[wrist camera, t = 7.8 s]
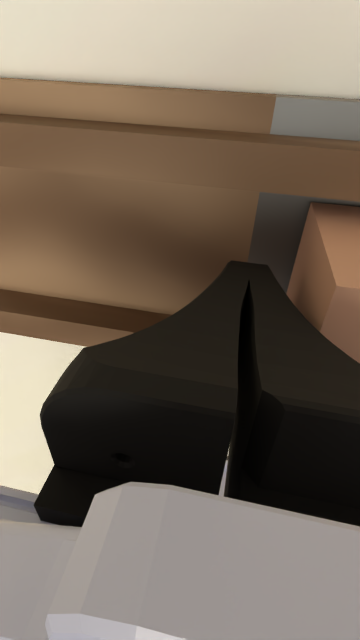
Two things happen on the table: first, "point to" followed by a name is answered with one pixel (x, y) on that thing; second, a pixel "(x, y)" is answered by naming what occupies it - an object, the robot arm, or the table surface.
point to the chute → (154, 197)
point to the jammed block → (330, 274)
